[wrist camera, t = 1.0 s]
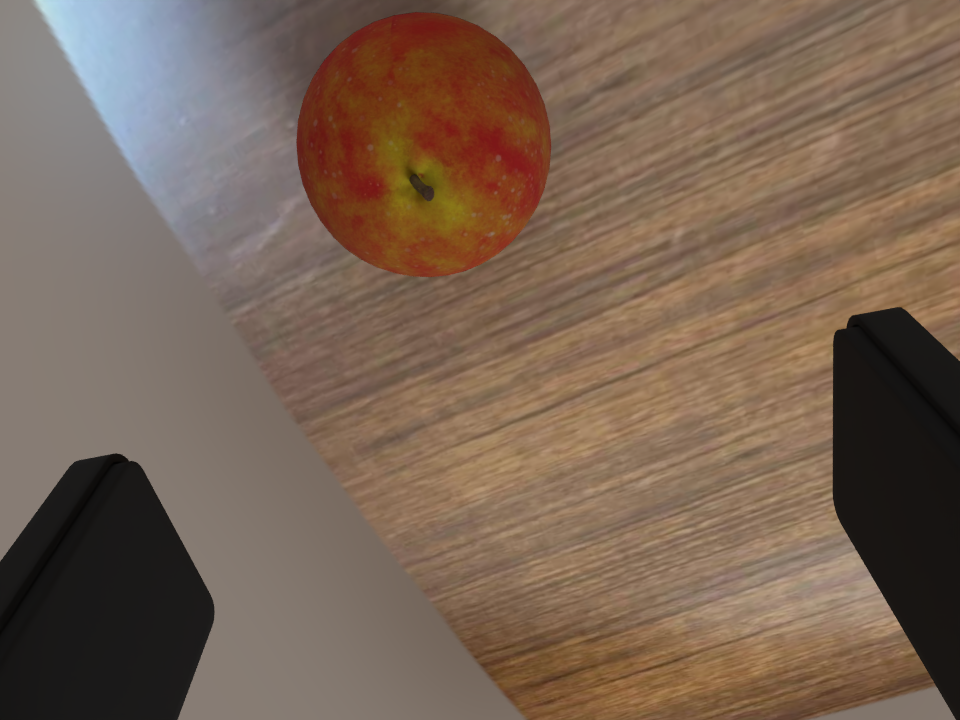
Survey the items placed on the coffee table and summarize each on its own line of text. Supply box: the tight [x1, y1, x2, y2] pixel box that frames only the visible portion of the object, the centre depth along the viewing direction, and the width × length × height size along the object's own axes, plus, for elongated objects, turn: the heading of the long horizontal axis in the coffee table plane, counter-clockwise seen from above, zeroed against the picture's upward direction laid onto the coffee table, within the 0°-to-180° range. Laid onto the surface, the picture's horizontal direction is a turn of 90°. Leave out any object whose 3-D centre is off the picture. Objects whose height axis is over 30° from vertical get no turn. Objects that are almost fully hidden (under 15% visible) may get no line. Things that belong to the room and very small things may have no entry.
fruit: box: [296, 12, 551, 277], centre depth 22 cm, size 7×7×8 cm
